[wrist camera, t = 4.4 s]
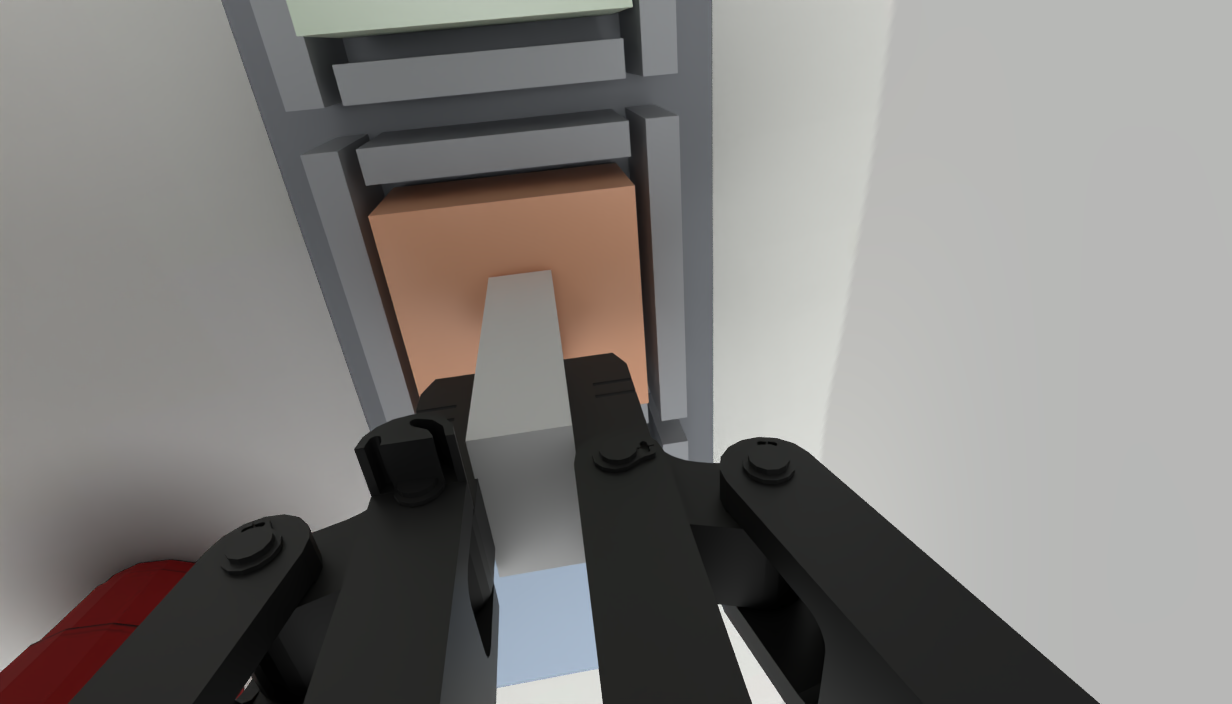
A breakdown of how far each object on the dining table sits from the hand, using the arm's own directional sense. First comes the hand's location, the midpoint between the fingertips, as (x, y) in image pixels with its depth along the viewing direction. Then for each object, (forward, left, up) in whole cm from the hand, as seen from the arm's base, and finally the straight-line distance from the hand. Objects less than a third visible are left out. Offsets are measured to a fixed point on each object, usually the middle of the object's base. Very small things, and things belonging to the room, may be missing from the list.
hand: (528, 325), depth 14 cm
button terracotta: (0, 0, -3) cm, 3 cm away
